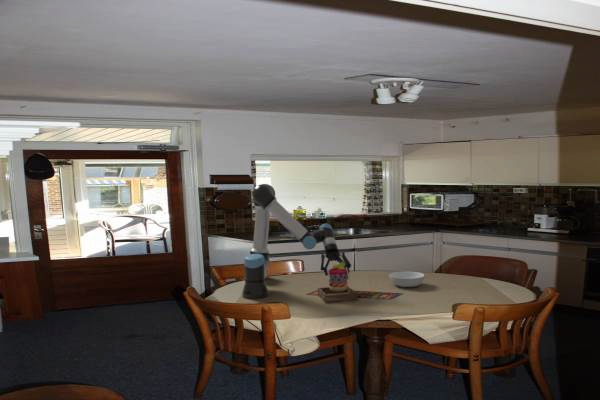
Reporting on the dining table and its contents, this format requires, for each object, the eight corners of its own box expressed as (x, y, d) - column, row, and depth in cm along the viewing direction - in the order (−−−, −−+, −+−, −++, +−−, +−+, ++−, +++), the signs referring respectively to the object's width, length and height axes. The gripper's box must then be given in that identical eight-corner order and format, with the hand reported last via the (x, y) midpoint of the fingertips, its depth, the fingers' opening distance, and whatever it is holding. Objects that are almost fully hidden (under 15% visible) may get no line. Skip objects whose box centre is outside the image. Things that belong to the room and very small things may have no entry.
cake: (338, 292, 252) (337, 265, 251) (324, 289, 260) (324, 262, 260) (351, 289, 259) (351, 262, 258) (338, 285, 267) (337, 260, 266)
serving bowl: (409, 280, 297) (409, 269, 297) (432, 287, 278) (431, 275, 278) (382, 284, 288) (382, 273, 288) (404, 291, 269) (403, 280, 269)
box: (317, 294, 268) (317, 288, 268) (347, 292, 272) (347, 285, 271) (325, 303, 250) (325, 295, 250) (357, 300, 254) (357, 293, 254)
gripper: (347, 249, 277) (357, 281, 262) (310, 251, 272) (318, 284, 258) (350, 241, 271) (360, 273, 257) (312, 244, 267) (320, 277, 252)
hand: (339, 279), depth 257 cm, fingers closed on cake, 10 cm apart
